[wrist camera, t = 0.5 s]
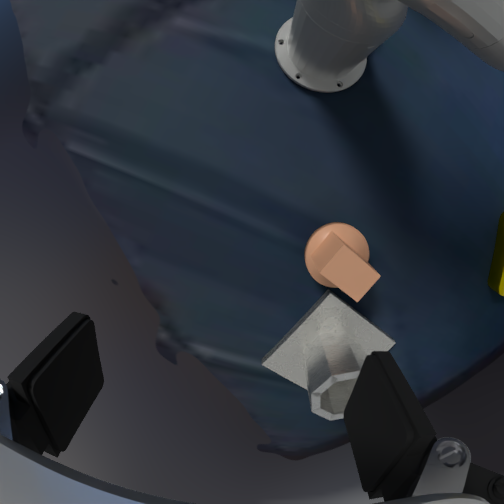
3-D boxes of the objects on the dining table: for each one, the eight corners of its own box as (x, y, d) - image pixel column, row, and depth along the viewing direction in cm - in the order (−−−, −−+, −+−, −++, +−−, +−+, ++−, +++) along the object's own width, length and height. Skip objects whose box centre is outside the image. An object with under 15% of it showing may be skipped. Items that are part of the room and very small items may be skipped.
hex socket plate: (328, 288, 44) (347, 329, 33) (392, 338, 46) (418, 379, 35) (261, 358, 48) (261, 408, 37) (329, 396, 50) (340, 442, 39)
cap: (327, 205, 40) (349, 221, 30) (370, 241, 41) (399, 267, 31) (289, 252, 42) (297, 281, 32) (332, 285, 43) (351, 321, 33)
